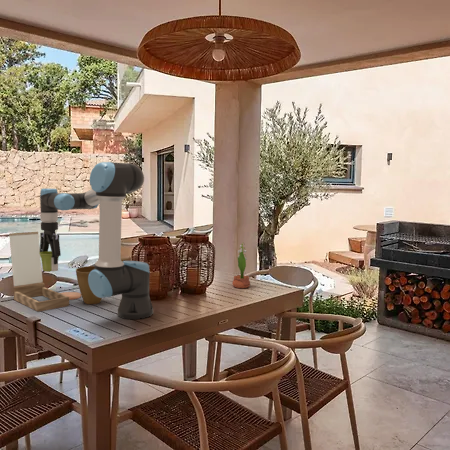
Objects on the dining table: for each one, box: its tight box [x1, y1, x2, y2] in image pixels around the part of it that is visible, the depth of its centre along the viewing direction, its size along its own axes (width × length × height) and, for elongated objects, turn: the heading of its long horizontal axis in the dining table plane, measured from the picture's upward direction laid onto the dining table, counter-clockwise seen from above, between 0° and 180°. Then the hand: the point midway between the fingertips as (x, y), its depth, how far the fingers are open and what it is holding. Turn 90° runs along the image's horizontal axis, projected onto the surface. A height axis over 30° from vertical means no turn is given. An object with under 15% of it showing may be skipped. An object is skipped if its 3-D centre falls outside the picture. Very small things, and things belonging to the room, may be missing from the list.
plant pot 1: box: [39, 250, 60, 273], centre depth 212 cm, size 9×9×9 cm
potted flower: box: [231, 243, 251, 289], centre depth 251 cm, size 12×10×25 cm
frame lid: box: [8, 231, 44, 287], centre depth 219 cm, size 25×14×1 cm
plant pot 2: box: [75, 265, 103, 305], centre depth 212 cm, size 15×15×16 cm
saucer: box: [59, 291, 82, 301], centre depth 222 cm, size 13×13×1 cm
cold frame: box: [13, 282, 70, 312], centre depth 210 cm, size 26×14×6 cm, turn 46°
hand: (50, 269), depth 213 cm, fingers closed on plant pot 1, 8 cm apart
